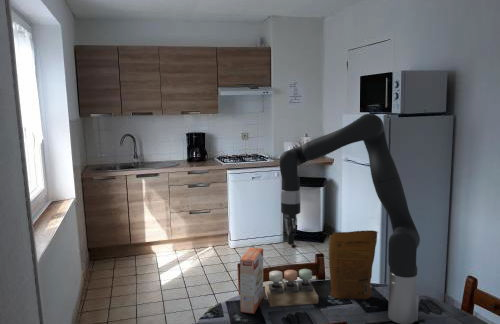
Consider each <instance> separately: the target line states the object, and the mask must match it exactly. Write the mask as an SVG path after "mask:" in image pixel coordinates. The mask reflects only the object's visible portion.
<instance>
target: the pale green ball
mask: <svg viewBox="0 0 500 324" xmlns="http://www.w3.org/2000/svg"><path fill="white" fill-rule="evenodd" d="M312 278H313V271H312V270H311V269H310V268H309V269H308V268H302V269H299V270H298V279H300V280H302V281H303V284H308V281H310V280H312Z"/></svg>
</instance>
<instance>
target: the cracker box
mask: <svg viewBox="0 0 500 324" xmlns="http://www.w3.org/2000/svg"><path fill="white" fill-rule="evenodd" d="M239 278H240V279H239V282H240V283H239V285H240V286H239V288H240V289H239V292H240V294H239V295H240V296H239V297H240V299H239V300H240V304H239V305H240V313H245V314H253V315H254V314H255V313H256V311H257V309H259V308H258V307H259V305H261V304H260V303H261V302H262V300H263V298H264V248H262V247H249V248H248V249H247V250H246V252H245V253H244V254H242V257H241V258H240V260H239Z"/></svg>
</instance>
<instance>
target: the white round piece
mask: <svg viewBox="0 0 500 324" xmlns="http://www.w3.org/2000/svg"><path fill="white" fill-rule="evenodd" d="M268 274H269V281H270V282H272V283H273V285H274V286H278V285H279V283H281V282H282V281H283V276H284V275H283V274H284V272H282V271H280V270H272V271H269V273H268Z"/></svg>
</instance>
